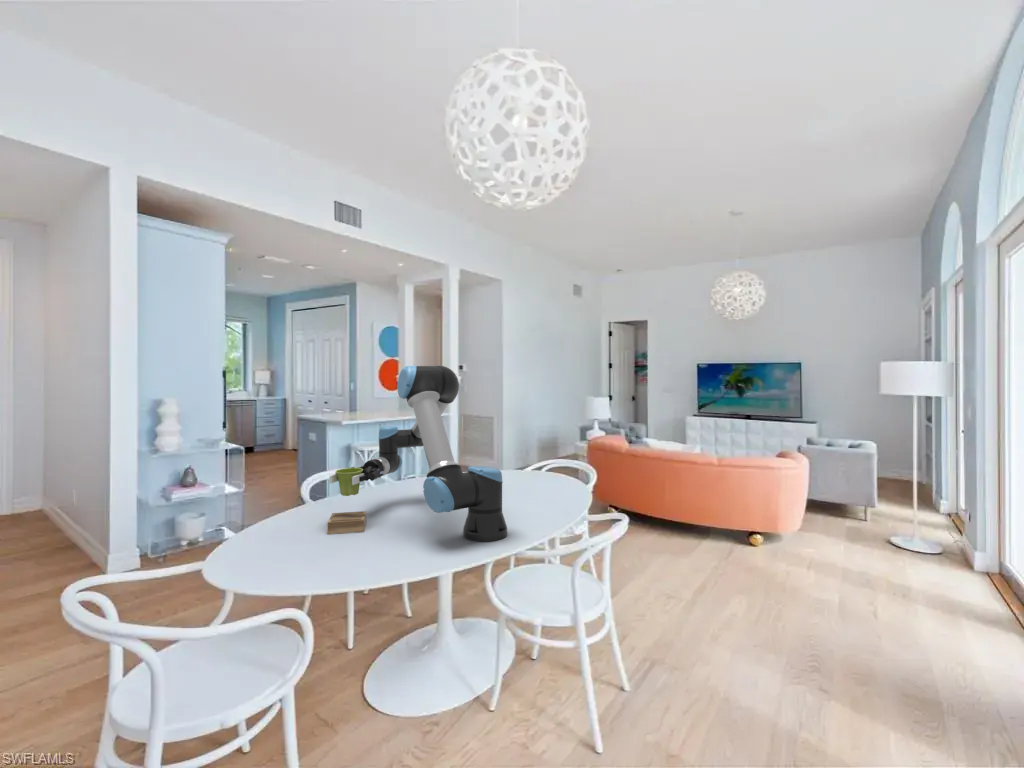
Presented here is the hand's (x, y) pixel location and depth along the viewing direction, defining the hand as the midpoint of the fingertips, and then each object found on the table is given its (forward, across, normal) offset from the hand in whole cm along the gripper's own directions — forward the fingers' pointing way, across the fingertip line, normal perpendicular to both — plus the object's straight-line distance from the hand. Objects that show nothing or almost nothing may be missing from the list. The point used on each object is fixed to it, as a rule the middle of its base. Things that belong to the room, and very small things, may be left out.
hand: (341, 480), depth 176 cm
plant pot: (-5, 0, -6) cm, 8 cm away
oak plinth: (-3, 0, -18) cm, 18 cm away
